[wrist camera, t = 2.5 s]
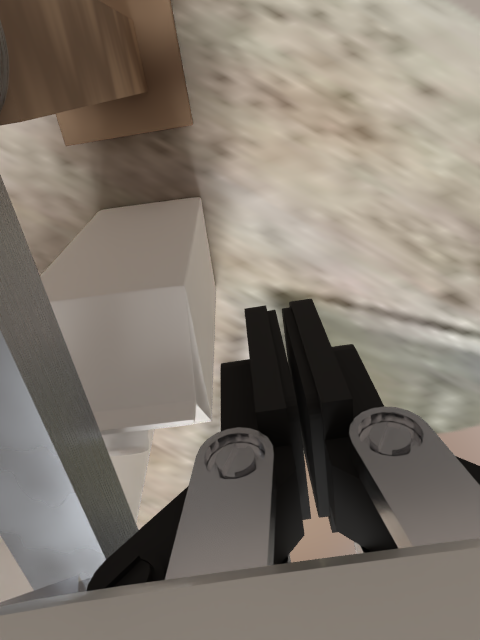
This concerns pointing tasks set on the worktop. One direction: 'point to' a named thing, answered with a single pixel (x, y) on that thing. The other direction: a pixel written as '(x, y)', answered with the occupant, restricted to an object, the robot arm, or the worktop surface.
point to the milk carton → (139, 318)
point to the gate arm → (48, 428)
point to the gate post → (94, 67)
